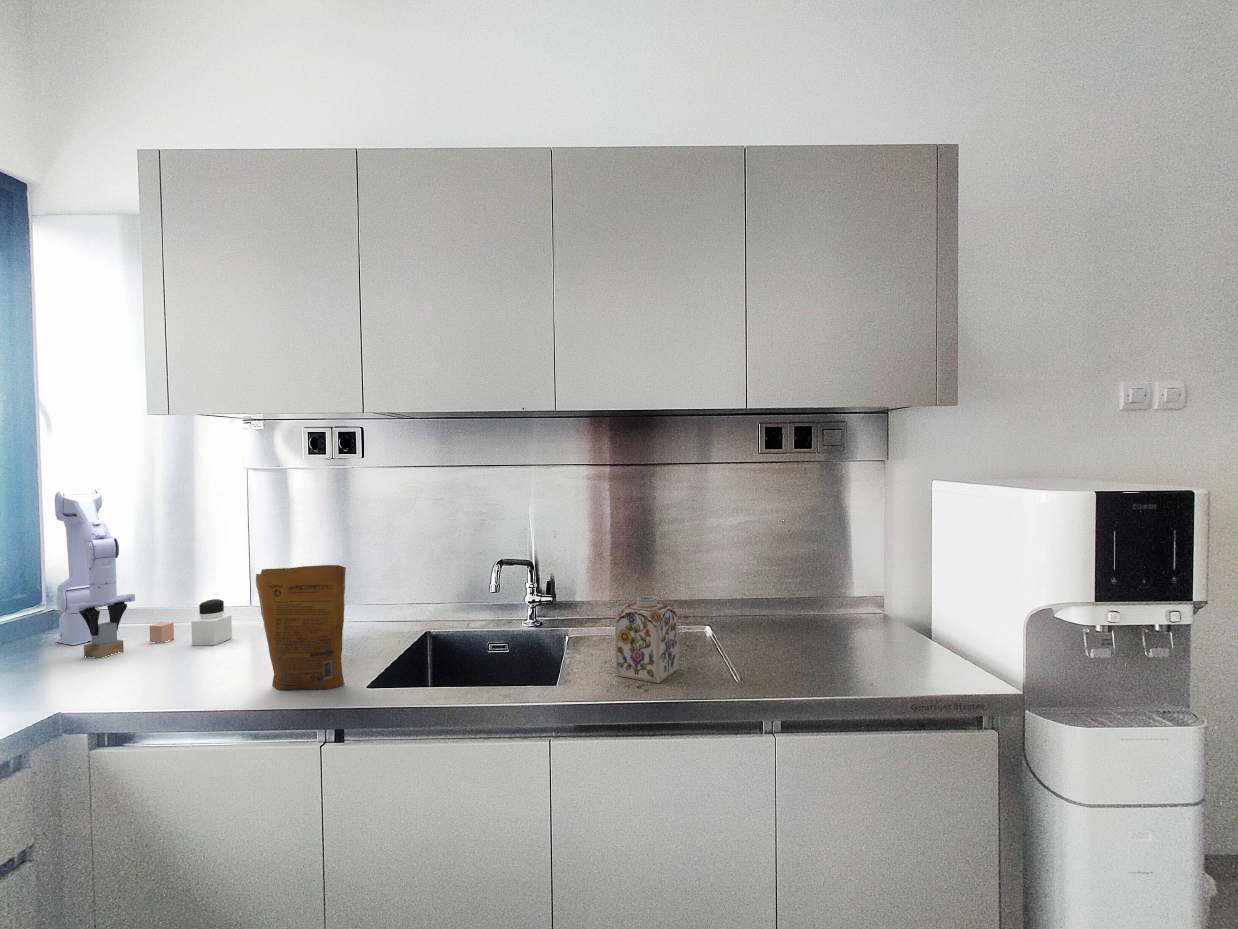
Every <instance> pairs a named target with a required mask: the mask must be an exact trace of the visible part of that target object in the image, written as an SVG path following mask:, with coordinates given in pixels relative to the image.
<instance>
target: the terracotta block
mask: <svg viewBox="0 0 1238 929" xmlns="http://www.w3.org/2000/svg"><path fill="white" fill-rule="evenodd" d="M174 624H175V623H174V622H167V621H165V622H163V621H162V622H158V623H155V624H151V625H149V643H150V642H155V643H154V644H164V643H163V642H165V641H168V640H171V639H174V640H175V633H174V632H175V630H174V626H175V625H174ZM171 641H172V640H171ZM168 642H169V641H168ZM165 643H166V642H165Z"/></svg>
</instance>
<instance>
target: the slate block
mask: <svg viewBox="0 0 1238 929" xmlns="http://www.w3.org/2000/svg"><path fill="white" fill-rule="evenodd" d="M117 640H118V630H117V623H112V622H110V621H107V622H101V623H98V635H97V636H92V641H91V643H92V644H95V645H105V644H109V643H113V642H117Z"/></svg>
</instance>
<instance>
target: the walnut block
mask: <svg viewBox="0 0 1238 929" xmlns="http://www.w3.org/2000/svg"><path fill="white" fill-rule="evenodd" d="M124 649H125V648H124V640H123V639H122V640H121V639H117V642H113V643H109V644H105V645H95V644H92V642H91V643H86V644H83V657H84V658H88V657H95V658H94V659H98V658H101V659H103V658H102V657H105V656H108V655H111V654H115V653H118V652H122V653H124V652H125V650H124ZM123 651H124V652H123ZM115 655H116V654H115ZM85 656H86V657H85ZM108 657H109V656H108ZM105 658H106V657H105Z"/></svg>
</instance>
